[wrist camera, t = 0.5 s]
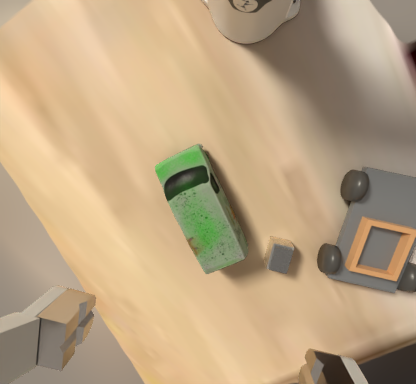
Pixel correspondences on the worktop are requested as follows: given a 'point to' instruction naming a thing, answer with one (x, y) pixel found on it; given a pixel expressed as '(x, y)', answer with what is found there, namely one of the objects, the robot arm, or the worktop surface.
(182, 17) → the worktop surface
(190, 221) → the toy car
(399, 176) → the chassis
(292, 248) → the grey wooden block
